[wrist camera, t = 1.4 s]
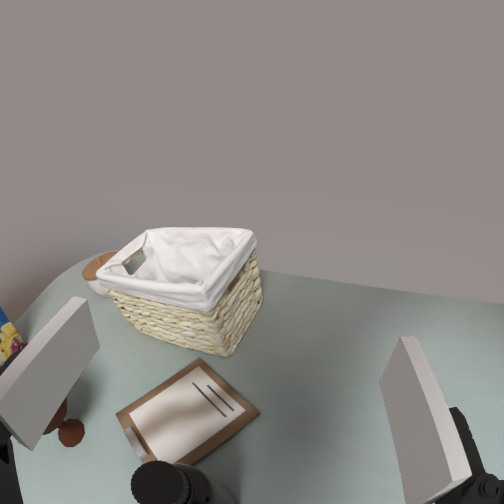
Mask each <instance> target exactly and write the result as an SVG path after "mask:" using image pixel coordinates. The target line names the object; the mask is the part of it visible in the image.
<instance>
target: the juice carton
mask: <svg viewBox="0 0 504 504" xmlns="http://www.w3.org/2000/svg"><path fill="white" fill-rule="evenodd" d="M26 346H27V344H26V342H25V341H24V340H23V338H22V337H21V336H20V334H19V333H18V332H17V330H16V329H15V327H14V326H13V325H12V323H11V322H10V320H9V319H8V317H7V316H6V314H5V313H4V311H3V310H2V308H1V307H0V367H1V366H2V365H4V362H5V361H6V360H7V359H8V358H9V356H10V355H12V354H13V353H15V352H16V351H18V350H20V349H21V350H23V349H24V348H25V347H26Z"/></svg>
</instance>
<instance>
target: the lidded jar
mask: <svg viewBox="0 0 504 504" xmlns="http://www.w3.org/2000/svg"><path fill="white" fill-rule="evenodd" d="M115 254H117V252H111V253H107V254H104V255H101V256H99V257H97V258H96V259H94V260H93V261H91V262H90V263H89V264H88V265H87V266H86V267H85V268H84V270H83V272H82V276H83V277H84V279H85V280H86V282H87V284H88V285H89V287H90V288H91V289H92V290H93V291H94V292H95V293H96V294H98V295H101V296H104V297H106V298H109V297H110V296H109V295H108V294H107V292H106V291H105V289H104V287H101V286H100V284H99V282H98V279H97V276H96V272H97V270H98V269H100V268H101V267H102V266H103V265H104V264H106V262H107V261H108V260H109V259H111V258H112V257H113V256H114V255H115ZM124 268H125V266H124ZM125 270H126V269H125Z"/></svg>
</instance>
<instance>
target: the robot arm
mask: <svg viewBox="0 0 504 504" xmlns="http://www.w3.org/2000/svg"><path fill="white" fill-rule="evenodd" d="M99 347H100V344H99V341H98V338H97V334H96V331H95V328H94V324H93V320H92V317H91V313H90V309H89V305H88V301H87V299H84V298H80V297H75V296H74V297H73V298H72V299H71V300H70V301H69V302H68V303H67V304H66V305H65V306H64V307H63V308H62V309H61V310H60V311H59V312H58V313H57V314H56V315H55V316H54V317H53V318H52V319H51V320H50V321H49V322H48V323H47V324H46V325H45V326H44V327H43V328H42V330H41V331H40V332H39V333H38V334H37V335H36V336H35V337H34V338H33V339H32V340H31V341H30V343H29V344H28V345H27V346H26V347H25V348H24V349H23V350H21V349H20V350H18V351H16V352H15V353H13V354H12V355H10V356H9V358H8V359H7V360H6V361H5V362H4V365H2V366H1V367H0V504H23V500H22V496H21V491H20V487H19V482H18V477H17V472H16V466H15V460H14V453H13V445H12V442H11V440H10V437H11V435H12V436H13V437H14V438H15V439H16V440H17V441H18V442H19V443H20V444H21V445H23V446H24V447H26V448H28V449H29V450H31V451H33V449H34V448H35V446H36V444H37V443H38V441H39V439H40V438H41V436H42V434H43V433H44V431H45V429H46V428H47V426H48V424H49V423H50V421H51V419H52V418H53V416H54V415H55V413H56V411H57V410H58V408H59V407H60V405H61V404H62V402H63V401H64V399H65V397H66V396H67V394H68V393H69V391H70V390H71V388H72V387H73V385H74V384H75V382H76V381H77V379H78V378H79V376H80V375H81V373H82V372H83V370H84V369H85V368H86V366H87V365H88V363H89V362H90V360H91V359H92V357H93V356H94V355H95V353H96V352H97V350H98V349H99ZM379 384H380V388H381V392H382V395H383V399H384V403H385V407H386V411H387V415H388V419H389V423H390V427H391V431H392V435H393V440H394V444H395V449H396V453H397V458H398V463H399V468H400V473H401V478H402V484H403V489H404V495H405V501H406V504H433V503H434V502H435V504H504V480H498V478H497V477H496V476H494V475H493V474H488V473H486V472H485V469H484V467H483V464H482V461H481V458H480V455H479V453H478V450H477V447H476V444H475V442H474V439H472V434H471V431H470V430H469V426H468V424H467V421H466V419H465V416H464V415H463V414H462V413H461V412H460V411H459V410H458V408H457V407H453V408H448V406H447V403H446V401H445V398H444V396H443V394H442V391H441V389H440V387H439V385H438V382H437V380H436V378H435V376H434V373H433V371H432V369H431V367H430V365H429V363H428V360H427V358H426V356H425V354H424V352H423V350H422V348H421V346H420V344H419V342H418V340H417V338H416V337H406V336H400V338H399V341H398V343H397V345H396V347H395V350H394V352H393V354H392V356H391V358H390V360H389V363H388V365H387V367H386V369H385V371H384V373H383V375H382V377H381V379H380V381H379Z"/></svg>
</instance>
